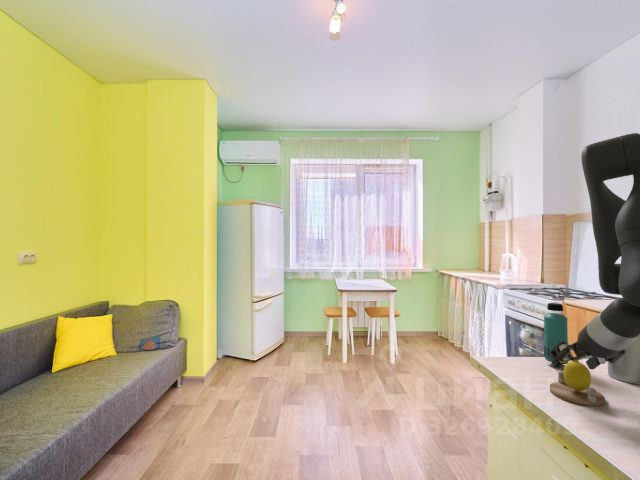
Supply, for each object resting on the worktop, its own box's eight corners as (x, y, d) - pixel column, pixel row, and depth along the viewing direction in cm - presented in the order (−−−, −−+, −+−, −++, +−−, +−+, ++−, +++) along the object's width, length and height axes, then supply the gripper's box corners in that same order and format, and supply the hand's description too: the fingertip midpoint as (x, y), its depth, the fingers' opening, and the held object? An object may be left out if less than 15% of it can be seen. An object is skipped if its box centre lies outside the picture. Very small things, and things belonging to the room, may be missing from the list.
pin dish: (551, 382, 88) (550, 368, 88) (603, 393, 81) (603, 378, 81) (548, 397, 79) (548, 381, 79) (606, 411, 72) (606, 394, 72)
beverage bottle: (570, 365, 100) (569, 303, 101) (568, 371, 96) (566, 306, 96) (545, 360, 105) (544, 300, 105) (542, 365, 100) (541, 303, 101)
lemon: (597, 397, 77) (596, 365, 77) (571, 396, 78) (570, 363, 78) (583, 387, 82) (582, 357, 82) (559, 386, 83) (558, 356, 83)
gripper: (630, 320, 73) (592, 352, 84) (565, 319, 74) (536, 351, 85) (653, 350, 67) (609, 380, 78) (583, 349, 68) (550, 379, 79)
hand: (571, 365), depth 82 cm, fingers open, 8 cm apart
